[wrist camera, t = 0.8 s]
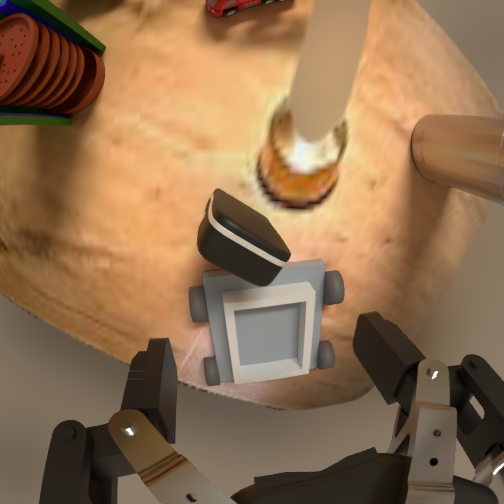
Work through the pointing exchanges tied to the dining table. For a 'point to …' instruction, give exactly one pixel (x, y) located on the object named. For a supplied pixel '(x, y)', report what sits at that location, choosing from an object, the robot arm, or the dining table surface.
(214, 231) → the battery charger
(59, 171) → the dining table surface
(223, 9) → the toy fire truck
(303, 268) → the chassis
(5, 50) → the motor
